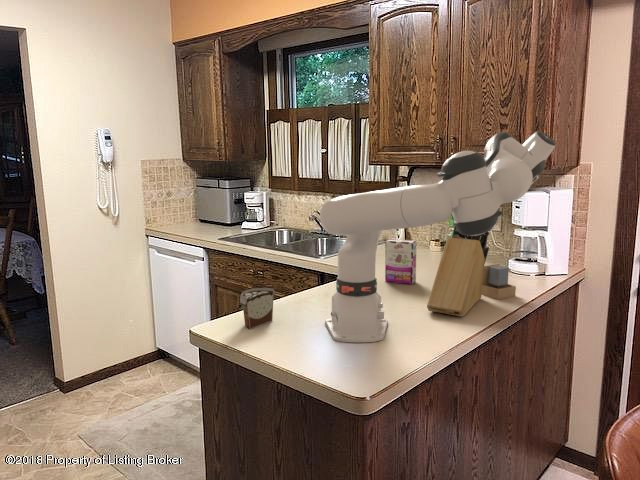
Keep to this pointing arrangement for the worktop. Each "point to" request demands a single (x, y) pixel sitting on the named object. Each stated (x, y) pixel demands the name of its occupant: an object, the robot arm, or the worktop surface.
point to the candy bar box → (400, 261)
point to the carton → (495, 292)
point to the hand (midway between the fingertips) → (493, 198)
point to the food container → (257, 306)
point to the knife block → (459, 274)
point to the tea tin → (498, 277)
